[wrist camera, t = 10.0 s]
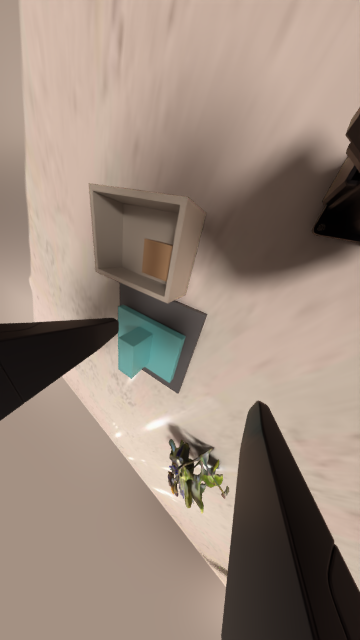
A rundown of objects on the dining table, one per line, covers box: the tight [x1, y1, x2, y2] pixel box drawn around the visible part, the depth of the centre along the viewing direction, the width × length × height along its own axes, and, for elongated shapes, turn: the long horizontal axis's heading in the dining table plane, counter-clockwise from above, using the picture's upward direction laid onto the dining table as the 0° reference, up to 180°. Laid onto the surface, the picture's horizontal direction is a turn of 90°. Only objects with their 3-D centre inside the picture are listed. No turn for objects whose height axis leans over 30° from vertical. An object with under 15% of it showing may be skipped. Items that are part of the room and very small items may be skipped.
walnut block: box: [142, 238, 173, 282], centre depth 18 cm, size 4×4×3 cm
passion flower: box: [168, 439, 229, 513], centre depth 30 cm, size 11×11×12 cm
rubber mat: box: [120, 283, 207, 393], centre depth 27 cm, size 17×19×1 cm
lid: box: [118, 305, 186, 383], centre depth 24 cm, size 13×10×6 cm
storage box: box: [89, 183, 206, 303], centre depth 18 cm, size 13×10×5 cm
